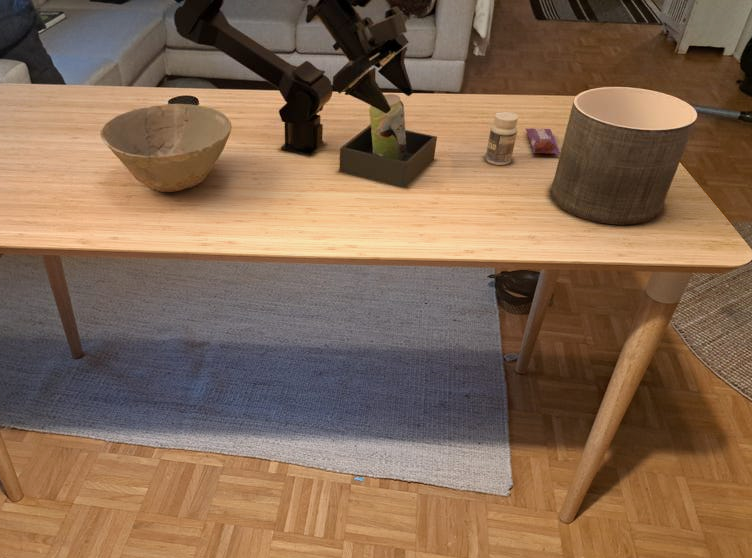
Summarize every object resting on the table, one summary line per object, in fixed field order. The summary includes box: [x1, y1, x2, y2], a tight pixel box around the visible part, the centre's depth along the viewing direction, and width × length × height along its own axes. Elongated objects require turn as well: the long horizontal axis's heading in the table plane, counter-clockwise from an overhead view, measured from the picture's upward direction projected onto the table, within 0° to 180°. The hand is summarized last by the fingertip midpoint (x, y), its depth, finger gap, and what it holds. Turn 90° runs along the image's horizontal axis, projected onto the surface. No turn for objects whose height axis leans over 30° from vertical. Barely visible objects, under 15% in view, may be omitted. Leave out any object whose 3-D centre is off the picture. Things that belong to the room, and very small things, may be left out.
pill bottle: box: [485, 111, 519, 166], centre depth 125 cm, size 5×5×8 cm
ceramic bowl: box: [99, 103, 232, 193], centre depth 120 cm, size 22×23×10 cm
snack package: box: [525, 127, 561, 155], centre depth 132 cm, size 12×2×5 cm
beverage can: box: [368, 93, 407, 161], centre depth 122 cm, size 6×7×12 cm
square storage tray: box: [338, 124, 438, 189], centre depth 125 cm, size 13×13×5 cm
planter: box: [550, 86, 698, 225], centre depth 110 cm, size 18×18×16 cm
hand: (400, 102), depth 118 cm, fingers open, 9 cm apart
